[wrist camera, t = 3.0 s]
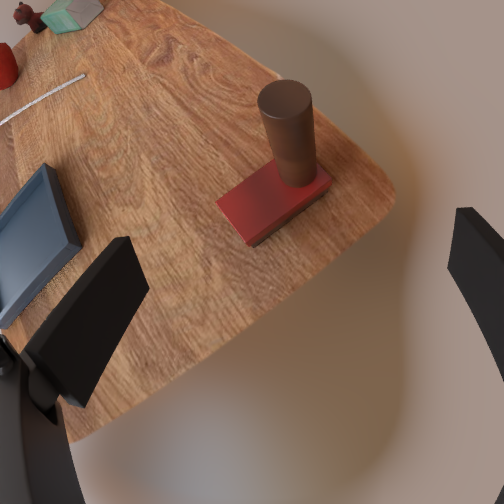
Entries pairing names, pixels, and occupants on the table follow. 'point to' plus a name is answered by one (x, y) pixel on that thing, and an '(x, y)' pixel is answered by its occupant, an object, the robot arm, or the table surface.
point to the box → (71, 14)
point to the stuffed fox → (29, 17)
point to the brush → (42, 97)
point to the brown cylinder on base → (279, 167)
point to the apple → (7, 67)
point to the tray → (33, 242)
